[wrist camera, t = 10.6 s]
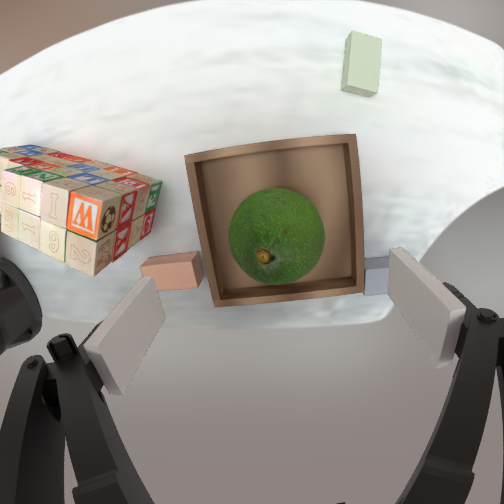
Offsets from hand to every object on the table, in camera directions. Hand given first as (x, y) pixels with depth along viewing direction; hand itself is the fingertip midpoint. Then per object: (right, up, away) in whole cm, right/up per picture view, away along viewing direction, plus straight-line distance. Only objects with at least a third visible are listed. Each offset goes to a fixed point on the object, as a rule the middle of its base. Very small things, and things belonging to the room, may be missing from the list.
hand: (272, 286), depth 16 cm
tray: (+2, +5, +14) cm, 15 cm away
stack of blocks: (-21, +10, +15) cm, 28 cm away
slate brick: (+14, 0, +15) cm, 21 cm away
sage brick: (+10, +20, +8) cm, 24 cm away
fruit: (+2, +5, +14) cm, 15 cm away
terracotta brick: (-10, 0, +17) cm, 20 cm away
